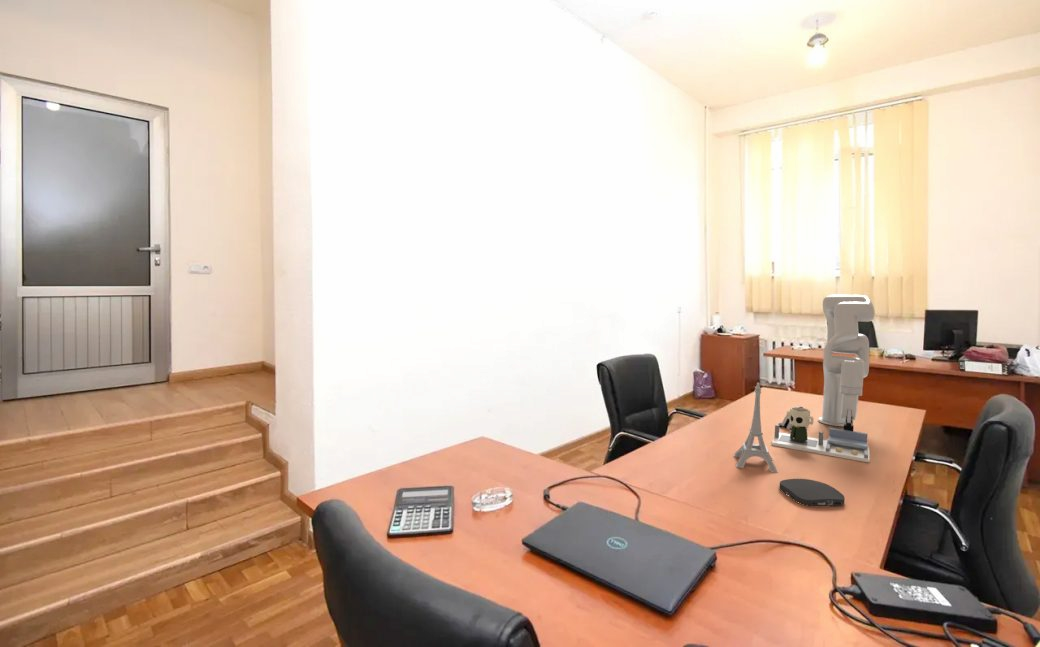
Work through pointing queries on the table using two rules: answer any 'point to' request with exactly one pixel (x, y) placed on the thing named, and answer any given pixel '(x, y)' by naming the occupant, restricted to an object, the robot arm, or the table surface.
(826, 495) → the media streaming box
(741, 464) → the eiffel tower
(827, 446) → the board
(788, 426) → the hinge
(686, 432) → the table surface
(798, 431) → the character mug
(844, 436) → the cover
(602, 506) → the table surface
